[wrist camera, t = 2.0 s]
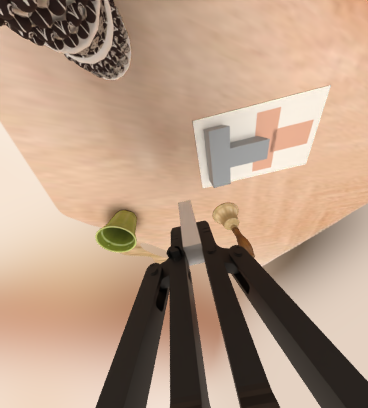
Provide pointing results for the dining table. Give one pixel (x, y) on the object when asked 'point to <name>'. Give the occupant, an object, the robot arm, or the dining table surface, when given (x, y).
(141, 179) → the dining table surface
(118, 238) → the plant pot
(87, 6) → the decorative candle
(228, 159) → the T block
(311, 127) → the board
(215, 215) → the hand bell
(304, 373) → the robot arm
